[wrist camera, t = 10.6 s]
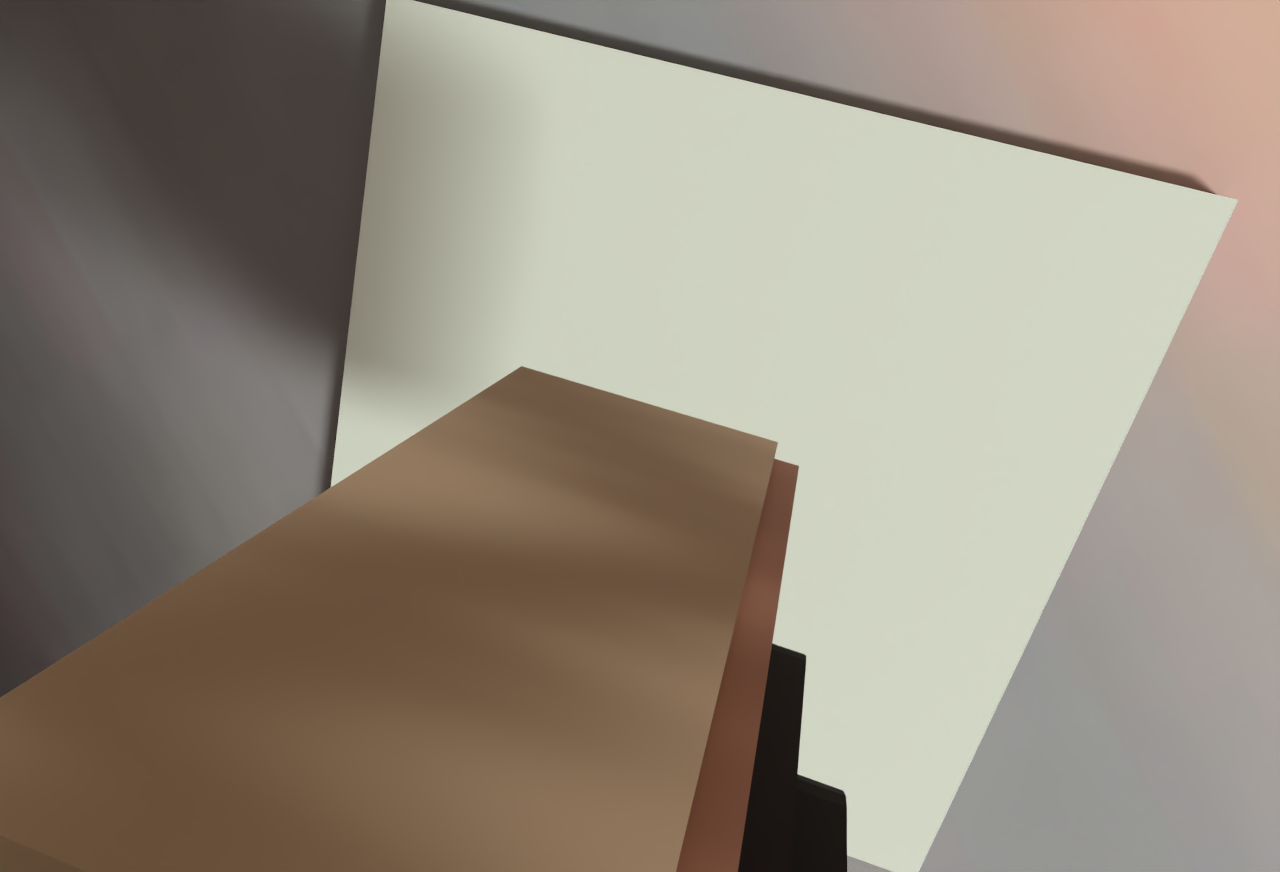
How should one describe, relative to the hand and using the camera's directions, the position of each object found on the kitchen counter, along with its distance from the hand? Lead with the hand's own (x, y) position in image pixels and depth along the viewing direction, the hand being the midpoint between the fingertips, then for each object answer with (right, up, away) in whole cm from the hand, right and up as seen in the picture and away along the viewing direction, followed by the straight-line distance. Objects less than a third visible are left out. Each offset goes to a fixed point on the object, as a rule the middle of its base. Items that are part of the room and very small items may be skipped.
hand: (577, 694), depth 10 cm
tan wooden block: (0, 0, +1) cm, 1 cm away
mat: (+2, +2, +9) cm, 9 cm away
